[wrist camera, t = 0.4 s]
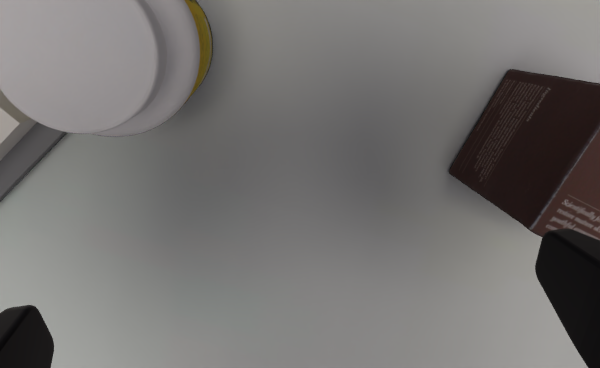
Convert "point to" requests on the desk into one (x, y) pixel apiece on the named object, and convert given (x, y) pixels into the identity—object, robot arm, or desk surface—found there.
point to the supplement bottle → (102, 61)
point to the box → (538, 153)
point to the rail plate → (21, 144)
